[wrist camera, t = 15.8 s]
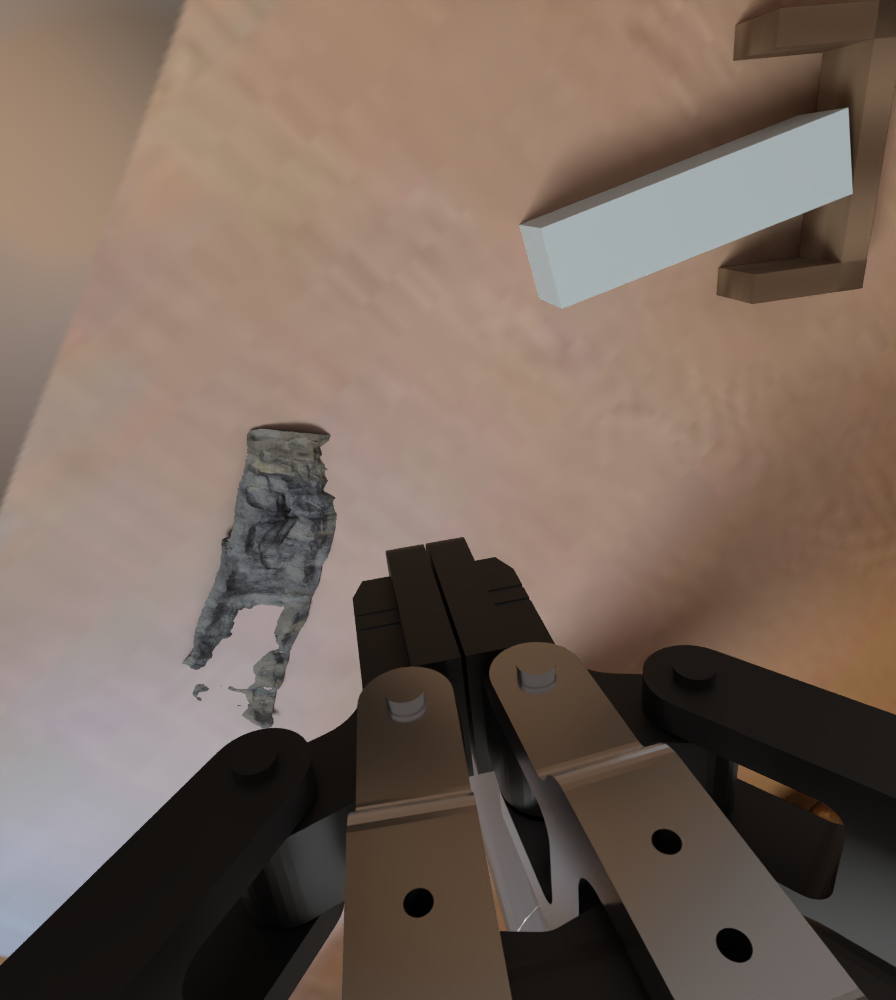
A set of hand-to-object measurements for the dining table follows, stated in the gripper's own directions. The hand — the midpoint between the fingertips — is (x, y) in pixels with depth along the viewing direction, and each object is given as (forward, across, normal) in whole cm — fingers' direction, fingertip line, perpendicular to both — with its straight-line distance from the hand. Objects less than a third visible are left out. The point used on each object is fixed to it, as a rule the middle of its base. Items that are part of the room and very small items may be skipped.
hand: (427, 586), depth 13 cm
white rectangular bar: (+26, -18, -4) cm, 32 cm away
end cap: (+26, -24, -6) cm, 35 cm away
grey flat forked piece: (+27, +8, +14) cm, 31 cm away
